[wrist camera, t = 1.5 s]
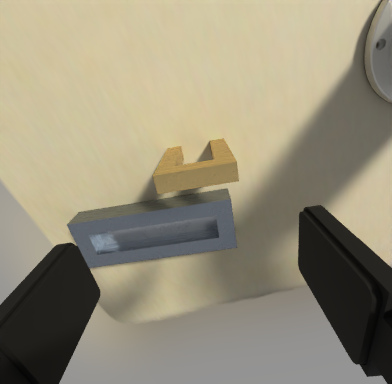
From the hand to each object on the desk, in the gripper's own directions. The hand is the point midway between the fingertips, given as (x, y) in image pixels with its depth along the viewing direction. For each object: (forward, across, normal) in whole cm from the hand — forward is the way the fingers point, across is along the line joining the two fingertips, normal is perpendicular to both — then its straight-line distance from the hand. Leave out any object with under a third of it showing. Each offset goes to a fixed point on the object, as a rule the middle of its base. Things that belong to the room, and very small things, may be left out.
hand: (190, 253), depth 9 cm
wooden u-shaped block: (+18, 0, 0) cm, 18 cm away
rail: (+18, +7, +9) cm, 21 cm away
